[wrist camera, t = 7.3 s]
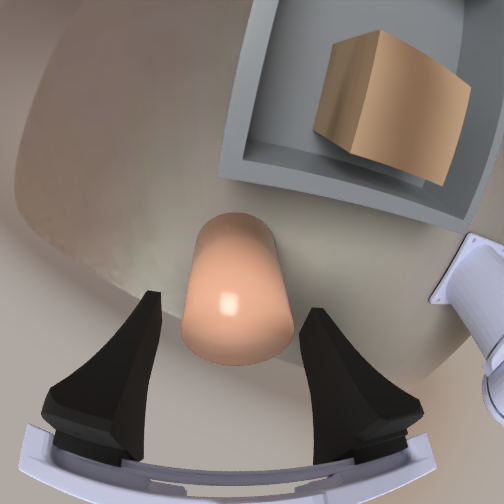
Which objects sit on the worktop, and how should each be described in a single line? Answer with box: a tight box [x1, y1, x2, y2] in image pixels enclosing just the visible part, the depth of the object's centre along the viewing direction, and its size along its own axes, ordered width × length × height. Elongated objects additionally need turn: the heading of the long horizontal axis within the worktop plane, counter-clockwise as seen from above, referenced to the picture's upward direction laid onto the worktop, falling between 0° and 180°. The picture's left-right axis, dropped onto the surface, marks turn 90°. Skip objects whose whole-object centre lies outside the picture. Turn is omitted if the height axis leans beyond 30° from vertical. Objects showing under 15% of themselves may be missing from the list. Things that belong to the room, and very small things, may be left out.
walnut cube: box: [312, 29, 471, 186], centre depth 10 cm, size 5×5×5 cm
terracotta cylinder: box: [181, 213, 294, 366], centre depth 14 cm, size 5×5×7 cm
